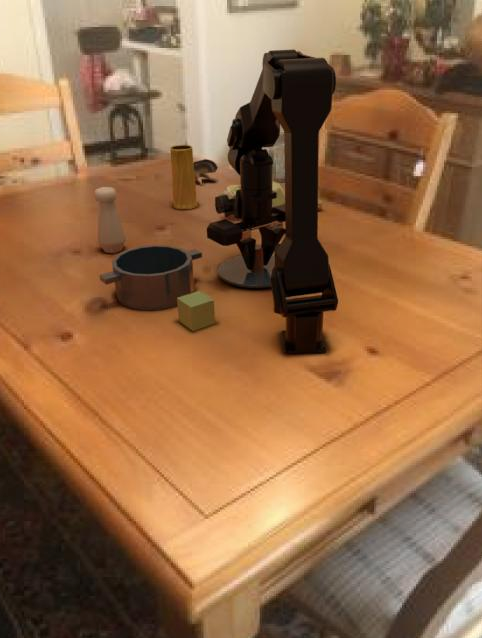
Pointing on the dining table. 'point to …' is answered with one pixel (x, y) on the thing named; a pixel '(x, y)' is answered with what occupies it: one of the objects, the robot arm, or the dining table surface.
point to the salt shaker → (109, 221)
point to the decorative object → (275, 187)
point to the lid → (241, 276)
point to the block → (196, 310)
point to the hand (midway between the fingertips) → (257, 267)
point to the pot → (152, 276)
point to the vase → (183, 177)
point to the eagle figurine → (204, 169)
